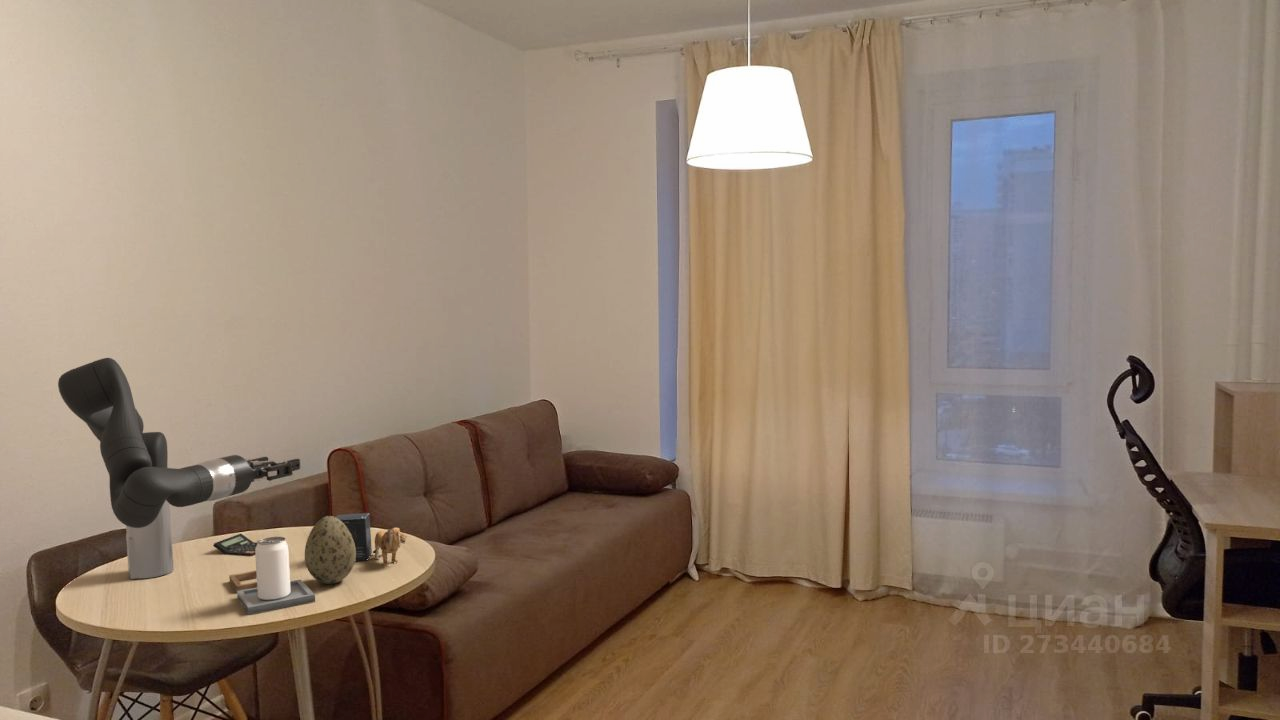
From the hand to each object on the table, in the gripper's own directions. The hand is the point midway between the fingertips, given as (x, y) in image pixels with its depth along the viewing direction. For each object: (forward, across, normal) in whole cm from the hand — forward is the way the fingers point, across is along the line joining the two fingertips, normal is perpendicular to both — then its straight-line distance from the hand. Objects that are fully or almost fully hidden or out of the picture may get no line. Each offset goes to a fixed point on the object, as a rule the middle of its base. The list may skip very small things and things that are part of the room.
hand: (282, 462), depth 189 cm
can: (0, +5, +29) cm, 29 cm away
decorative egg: (+14, +1, +30) cm, 33 cm away
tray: (0, +5, +30) cm, 30 cm away
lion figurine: (+32, 0, +30) cm, 44 cm away
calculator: (+29, +42, +30) cm, 60 cm away
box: (+30, +10, +30) cm, 44 cm away
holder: (+8, +18, +30) cm, 35 cm away
